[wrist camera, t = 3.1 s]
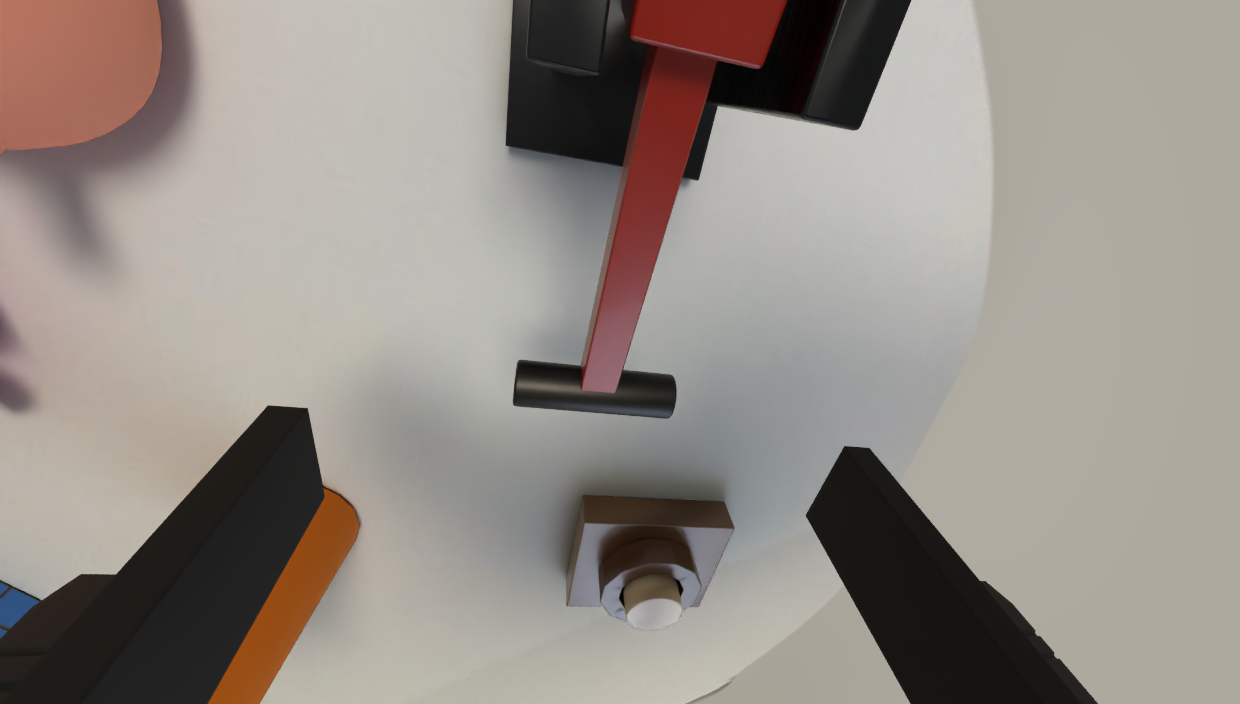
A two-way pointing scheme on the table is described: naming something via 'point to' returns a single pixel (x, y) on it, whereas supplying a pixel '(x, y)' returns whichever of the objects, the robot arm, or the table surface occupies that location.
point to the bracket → (783, 87)
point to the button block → (644, 548)
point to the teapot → (74, 68)
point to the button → (652, 602)
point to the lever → (649, 196)
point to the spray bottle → (290, 603)
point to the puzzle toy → (13, 606)
